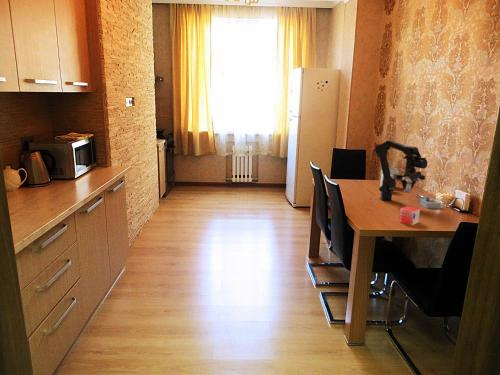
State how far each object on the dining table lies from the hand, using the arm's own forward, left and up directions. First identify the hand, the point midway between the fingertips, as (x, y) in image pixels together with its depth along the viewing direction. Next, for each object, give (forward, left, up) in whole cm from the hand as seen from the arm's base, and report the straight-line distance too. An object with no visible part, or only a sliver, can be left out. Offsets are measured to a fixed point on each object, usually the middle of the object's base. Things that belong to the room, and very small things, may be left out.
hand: (407, 189), depth 240 cm
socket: (+16, 0, -11) cm, 19 cm away
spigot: (0, 0, -2) cm, 2 cm away
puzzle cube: (-13, -35, -11) cm, 39 cm away
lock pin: (+16, +12, -10) cm, 22 cm away
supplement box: (+2, +43, -11) cm, 45 cm away
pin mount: (+16, +9, -11) cm, 21 cm away
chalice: (+10, +58, -11) cm, 60 cm away
